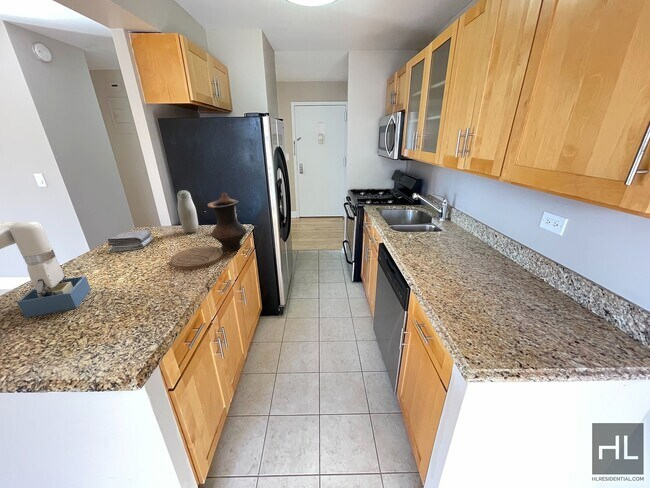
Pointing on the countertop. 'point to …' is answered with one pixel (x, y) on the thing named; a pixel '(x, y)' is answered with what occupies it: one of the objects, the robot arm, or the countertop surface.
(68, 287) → the cream bin
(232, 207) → the jug
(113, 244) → the towel
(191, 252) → the trivet
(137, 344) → the countertop surface
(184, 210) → the white rounded column
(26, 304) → the blue bin
